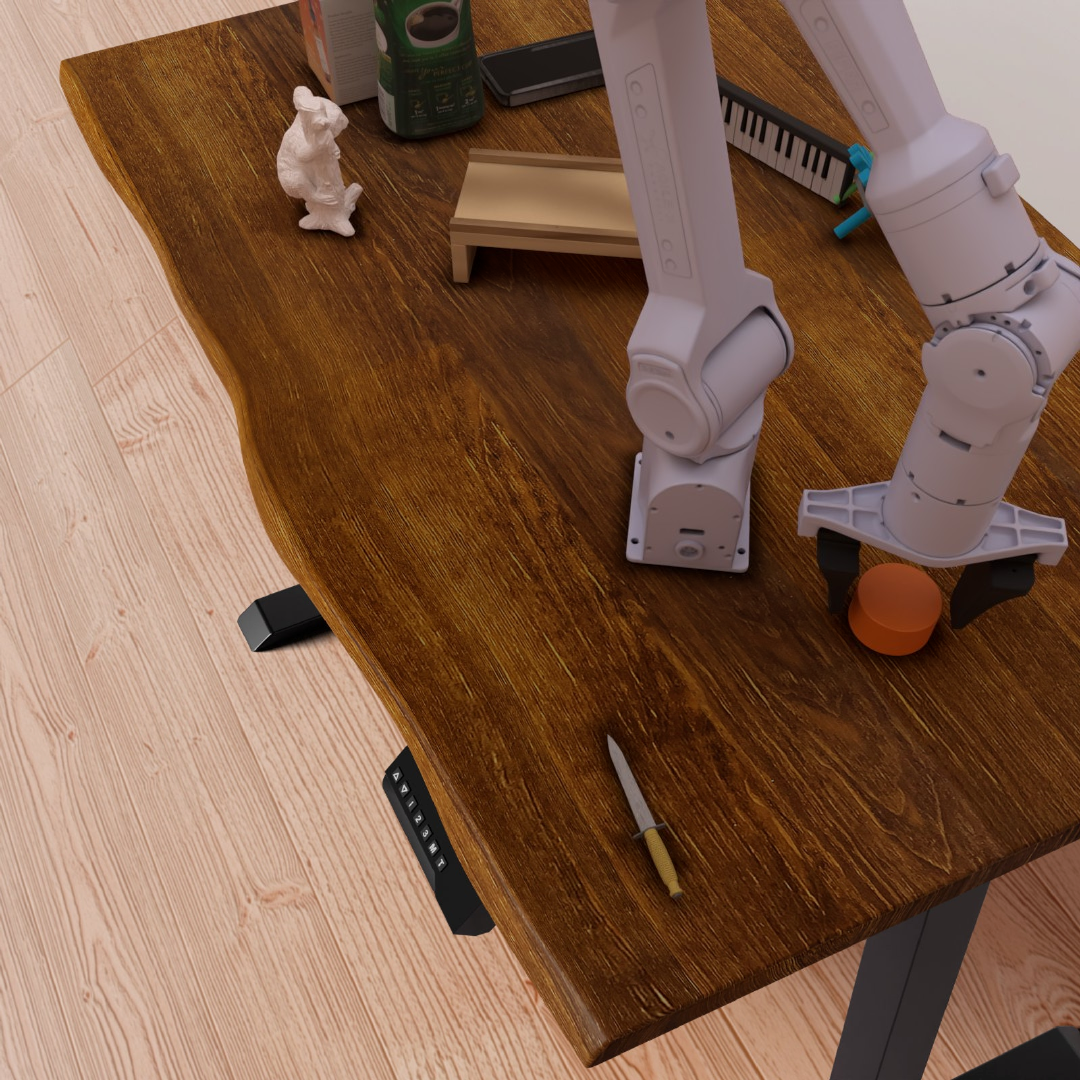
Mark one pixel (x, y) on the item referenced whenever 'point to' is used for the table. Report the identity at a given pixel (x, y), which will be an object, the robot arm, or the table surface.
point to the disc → (895, 609)
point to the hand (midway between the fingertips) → (894, 608)
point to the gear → (863, 165)
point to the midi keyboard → (785, 142)
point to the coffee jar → (427, 67)
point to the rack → (542, 206)
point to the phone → (543, 69)
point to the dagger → (645, 821)
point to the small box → (342, 47)
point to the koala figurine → (317, 164)
